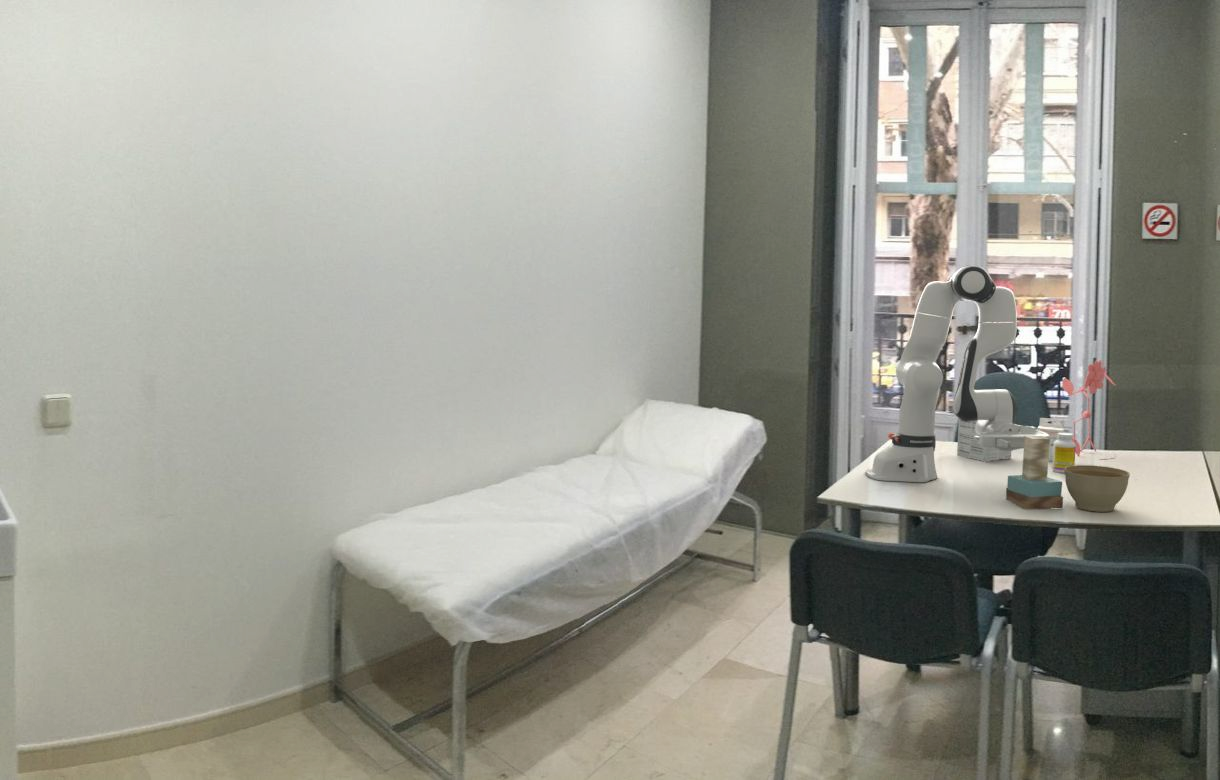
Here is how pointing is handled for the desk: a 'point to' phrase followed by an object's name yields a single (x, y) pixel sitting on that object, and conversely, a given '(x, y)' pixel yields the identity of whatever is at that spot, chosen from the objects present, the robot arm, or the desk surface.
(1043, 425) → the ink cartridge box
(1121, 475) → the planter bowl
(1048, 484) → the teal top block
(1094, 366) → the pink flower sculpture
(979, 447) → the supplement box
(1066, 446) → the supplement bottle
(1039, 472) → the ash pillar block
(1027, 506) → the walnut base block
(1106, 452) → the desk surface
